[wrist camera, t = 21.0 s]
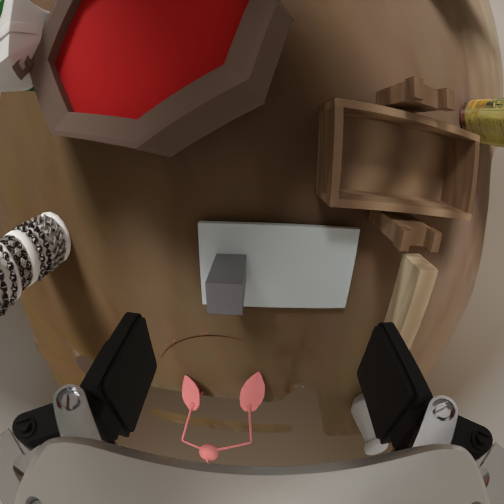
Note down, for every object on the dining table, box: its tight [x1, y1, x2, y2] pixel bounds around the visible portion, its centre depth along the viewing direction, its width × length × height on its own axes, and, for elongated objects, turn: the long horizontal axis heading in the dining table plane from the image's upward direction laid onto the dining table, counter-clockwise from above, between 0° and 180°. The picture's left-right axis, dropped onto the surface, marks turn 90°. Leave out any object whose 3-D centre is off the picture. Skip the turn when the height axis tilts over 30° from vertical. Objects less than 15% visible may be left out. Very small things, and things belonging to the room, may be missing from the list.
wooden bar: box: [384, 253, 438, 350], centre depth 25 cm, size 2×18×4 cm, turn 179°
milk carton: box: [0, 0, 50, 92], centre depth 14 cm, size 9×9×20 cm
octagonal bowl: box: [12, 0, 293, 157], centre depth 17 cm, size 24×24×16 cm
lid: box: [198, 221, 360, 315], centre depth 30 cm, size 19×11×9 cm, turn 89°
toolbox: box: [315, 76, 480, 253], centre depth 23 cm, size 18×16×10 cm
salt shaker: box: [351, 393, 388, 455], centre depth 38 cm, size 6×6×13 cm
